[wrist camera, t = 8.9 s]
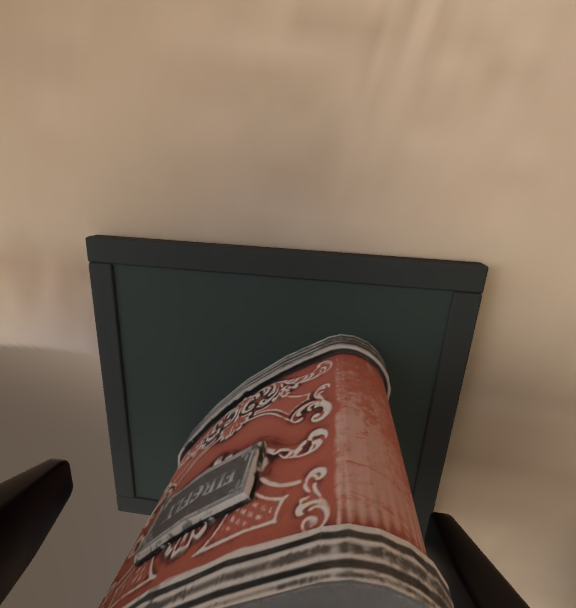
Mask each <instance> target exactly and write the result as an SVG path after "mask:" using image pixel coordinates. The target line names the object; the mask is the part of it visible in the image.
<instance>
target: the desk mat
mask: <svg viewBox="0 0 576 608" xmlns="http://www.w3.org/2000/svg"><path fill="white" fill-rule="evenodd" d="M86 246H87V255H88V261H89V262H90V263H89V271H90V279H91V288H92V296H93V304H94V313H95V321H96V329H97V338H98V346H99V354H100V362H101V371H102V379H103V388H104V396H105V404H106V413H107V421H108V429H109V437H110V446H111V454H112V463H113V471H114V479H115V487H116V494H117V504H118V510H119V511H125V512H131V513H138V514H145V515H151V514H152V512H153V511H154V509H155V507H156V505H157V503H158V502H159V500H160V498H161V496H162V495H163V493H164V491H165V489H166V488H167V486H168V484H169V482H170V480H171V479H172V477H173V475H174V473H175V472H176V470H177V468H178V455H179V453H180V451H181V449H182V448H183V446H184V444H185V442H186V441H187V439H188V437H189V436H190V434H191V432H192V431H193V430H194V429H195V428H196V427H197V426H198V424H199V423H200V422H201V421H202V420H203V419H204V418H205V417H206V416H207V415H208V414H209V412H210V411H211V410H212V409H213V408H214V407H215V406H216V405H217V404H218V403H219V402H221V401H222V400H223V399H224V398H225V397H227V396H228V395H229V394H230V393H231V392H233V391H234V390H235V389H236V388H237V387H239V386H240V385H241V384H242V383H243V382H245V381H246V380H247V379H249V378H250V377H252V376H254V375H255V374H257V373H259V372H260V371H262V370H264V369H265V368H267V367H269V366H270V365H272V364H274V363H275V362H277V361H279V360H280V359H282V358H284V357H285V356H287V355H289V354H292V353H294V352H296V351H298V350H301V349H303V348H305V347H307V346H310V345H312V344H314V343H316V342H318V341H321V340H323V339H325V338H327V337H330V336H335V335H339V334H344V335H352V336H356V337H358V338H360V339H363V340H365V341H367V342H368V343H369V344H371V345H372V346H373V347H374V348H375V349H376V350H377V351H378V352H379V354H380V356H381V357H382V359H383V361H384V363H385V366H386V369H387V373H388V376H389V382H390V388H391V391H390V396H389V400H388V402H389V406H390V410H391V414H392V418H393V422H394V426H395V430H396V434H397V438H398V442H399V446H400V450H401V454H402V458H403V462H404V466H405V470H406V474H407V478H408V482H409V486H410V490H411V494H412V498H413V502H414V506H415V510H416V514H417V518H418V522H419V526H420V530H421V534H422V538H423V542H424V541H425V535H426V530H427V526H428V521H429V517H430V515H431V513H433V510H434V505H435V501H436V496H437V492H438V488H439V483H440V479H441V474H442V470H443V466H444V461H445V457H446V452H447V448H448V444H449V439H450V435H451V430H452V426H453V422H454V417H455V413H456V408H457V404H458V400H459V395H460V391H461V386H462V382H463V377H464V373H465V369H466V364H467V360H468V355H469V351H470V347H471V342H472V338H473V333H474V329H475V325H476V320H477V316H478V311H479V307H480V303H481V298H482V294H481V293H482V292H483V290H484V285H485V281H486V276H487V272H488V266H486V265H484V264H482V263H479V262H465V261H451V260H437V259H423V258H410V257H396V256H382V255H368V254H354V253H340V252H326V251H313V250H299V249H285V248H271V247H257V246H243V245H230V244H216V243H202V242H188V241H174V240H160V239H146V238H133V237H119V236H105V235H94V236H89V237H86Z"/></svg>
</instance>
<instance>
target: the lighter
mask: <svg viewBox="0 0 576 608" xmlns="http://www.w3.org/2000/svg"><path fill="white" fill-rule="evenodd" d="M390 391H391V388H390V382H389V376H388V373H387V369H386V366H385V363H384V361H383V359H382V357H381V356H380V354H379V352H378V351H377V350H376V349H375V348H374V347H373V346H372V345H371V344H369V343H368V342H367V341H365V340H363V339H360V338H358V337H356V336H352V335H344V334H339V335H335V336H330V337H327V338H325V339H323V340H321V341H318V342H316V343H314V344H312V345H310V346H307V347H305V348H303V349H301V350H298V351H296V352H294V353H292V354H289V355H287V356H285V357H284V358H282V359H280V360H279V361H277V362H275V363H274V364H272V365H270V366H269V367H267V368H265V369H264V370H262V371H260V372H259V373H257V374H255V375H254V376H252V377H250V378H249V379H247V380H246V381H245V382H243V383H242V384H241V385H240V386H239V387H237V388H236V389H235V390H234V391H233V392H231V393H230V394H229V395H228V396H227V397H225V398H224V399H223V400H222V401H221V402H219V403H218V404H217V405H216V406H215V407H214V408H213V409H212V410H211V411H210V412H209V414H208V415H207V416H206V417H205V418H204V419H203V420H202V421H201V422H200V423H199V424H198V426H197V427H196V428H195V429H194V430H193V431H192V432H191V434H190V436H189V437H188V439H187V441H186V442H185V444H184V446H183V448H182V449H181V451H180V453H179V455H178V468H177V470H176V472H175V473H174V475H173V477H172V479H171V480H170V482H169V484H168V486H167V488H166V489H165V491H164V493H163V495H162V496H161V498H160V500H159V502H158V503H157V505H156V507H155V509H154V511H153V512H152V514H151V516H150V518H149V519H148V521H147V523H146V525H145V526H144V528H143V530H142V532H141V534H140V535H139V537H138V539H137V541H136V542H135V544H134V546H133V548H132V549H131V551H130V553H129V555H128V557H127V558H126V560H125V562H124V564H123V566H122V567H121V569H120V571H119V572H118V574H117V576H116V578H115V580H114V582H113V583H112V585H111V587H110V588H109V590H108V592H107V594H106V596H105V597H104V599H103V601H102V603H101V604H100V606H99V608H454V605H453V602H452V598H451V595H450V591H449V588H448V585H447V583H446V581H445V580H444V578H443V577H442V575H441V573H440V572H439V570H438V569H437V567H436V565H435V564H434V562H433V561H432V560H430V559H429V558H428V557H427V554H426V550H425V546H424V542H423V538H422V534H421V530H420V526H419V522H418V518H417V514H416V510H415V506H414V502H413V498H412V494H411V490H410V486H409V482H408V478H407V474H406V470H405V466H404V462H403V458H402V454H401V450H400V446H399V442H398V438H397V434H396V430H395V426H394V422H393V418H392V414H391V410H390V406H389V402H388V400H389V396H390Z"/></svg>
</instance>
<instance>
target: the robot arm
mask: <svg viewBox="0 0 576 608" xmlns="http://www.w3.org/2000/svg"><path fill="white" fill-rule="evenodd" d="M72 489H73V482H72V477H71V470H70V465H69V463H68V461H66V460H60V459H49V460H47V461H45V462H43V463H41V464H39V465H37V466H35V467H33V468H31V469H29V470H27V471H25V472H23V473H21V474H19V475H17V476H15V477H13V478H11V479H9V480H6V481H4V482H3V483H0V605H1V603H2V602H3V600H4V599H5V598H6V596H7V595H8V594H9V592H10V591H11V589H12V588H13V586H14V585H15V584H16V582H17V581H18V579H19V578H20V576H21V575H22V574H23V572H24V571H25V569H26V568H27V566H28V565H29V563H30V562H31V561H32V559H33V558H34V556H35V554H36V553H37V551H38V550H39V548H40V546H41V545H42V543H43V541H44V540H45V538H46V536H47V534H48V533H49V531H50V529H51V528H52V526H53V524H54V523H55V521H56V519H57V517H58V516H59V514H60V512H61V511H62V509H63V507H64V506H65V504H66V502H67V501H68V499H69V497H70V495H71V492H72ZM424 546H425V550H426V554H427V557H428V558H429V559H430V560H432V561H433V562H434V564H435V565H436V567H437V569H438V570H439V572H440V573H441V575H442V577H443V578H444V580H445V581H446V583H447V585H448V588H449V591H450V595H451V598H452V602H453V605H454V608H530V607H529V606H528V605H527V604H526V602H525V601H524V600H523V599H522V598H521V597H520V595H519V594H518V593H517V592H516V591H515V590H514V588H513V587H512V586H511V585H510V584H509V583H508V581H507V580H506V579H505V578H504V577H503V576H502V574H501V573H500V572H499V571H498V570H497V569H496V567H495V566H494V565H493V564H492V563H491V562H490V560H489V559H488V558H487V557H486V556H485V555H484V553H483V552H482V551H481V550H480V549H479V548H478V546H477V545H476V544H475V543H474V542H473V541H472V539H471V538H470V537H469V536H468V535H467V533H466V532H465V531H464V530H463V529H462V528H461V526H460V525H459V524H458V523H457V522H456V521H455V519H454V518H453V517H452V516H450V515H449V514H444V513H437V512H433V513H431V515H430V517H429V521H428V526H427V530H426V535H425V541H424Z"/></svg>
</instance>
